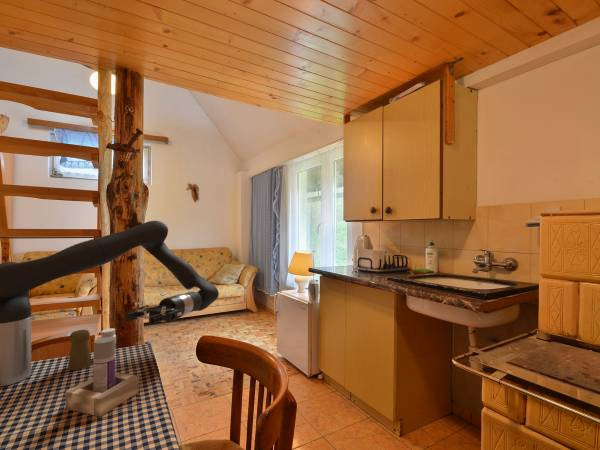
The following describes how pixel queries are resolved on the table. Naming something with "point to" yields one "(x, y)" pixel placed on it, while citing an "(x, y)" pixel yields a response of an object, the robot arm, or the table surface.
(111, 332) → the pill bottle
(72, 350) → the olive pepper mill
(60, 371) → the table surface
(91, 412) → the square holder
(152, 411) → the table surface
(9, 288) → the robot arm
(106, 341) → the container
